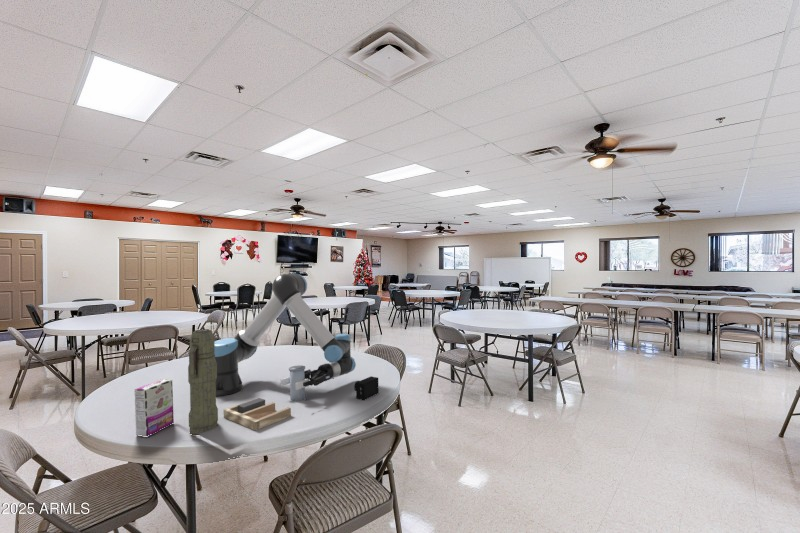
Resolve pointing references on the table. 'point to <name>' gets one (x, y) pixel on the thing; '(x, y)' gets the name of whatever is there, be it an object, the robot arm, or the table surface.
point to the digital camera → (366, 388)
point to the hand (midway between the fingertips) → (288, 384)
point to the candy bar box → (154, 407)
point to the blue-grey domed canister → (295, 377)
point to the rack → (257, 416)
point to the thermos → (202, 382)
